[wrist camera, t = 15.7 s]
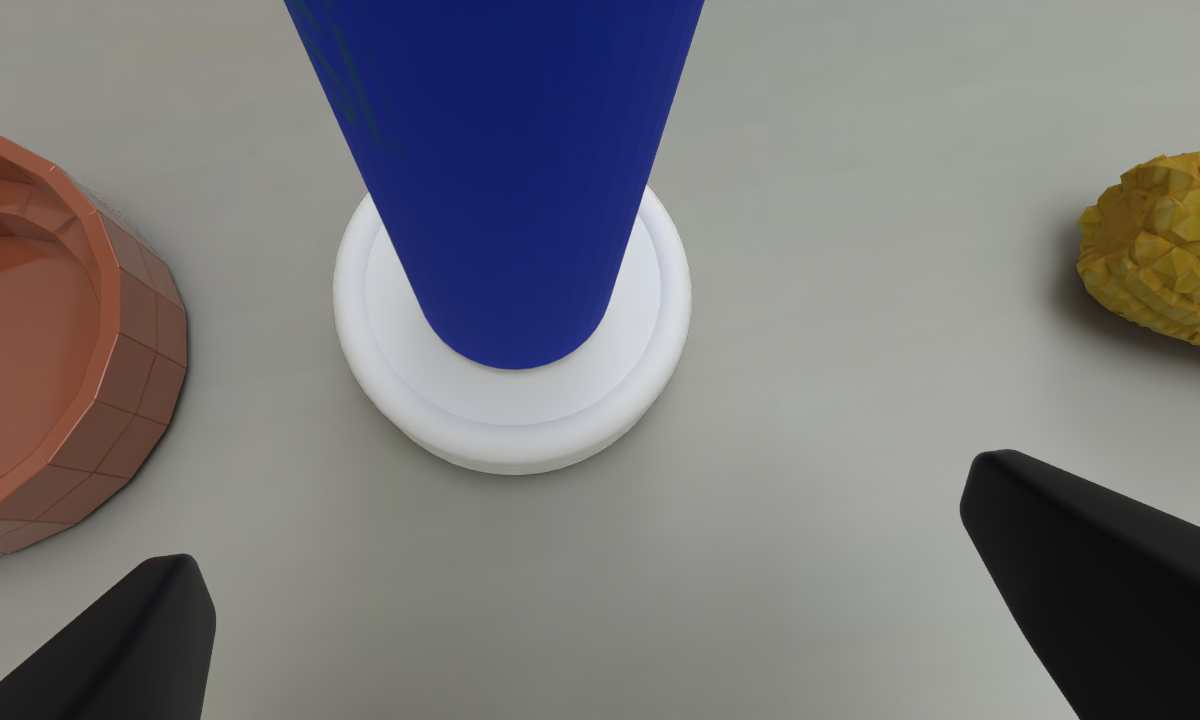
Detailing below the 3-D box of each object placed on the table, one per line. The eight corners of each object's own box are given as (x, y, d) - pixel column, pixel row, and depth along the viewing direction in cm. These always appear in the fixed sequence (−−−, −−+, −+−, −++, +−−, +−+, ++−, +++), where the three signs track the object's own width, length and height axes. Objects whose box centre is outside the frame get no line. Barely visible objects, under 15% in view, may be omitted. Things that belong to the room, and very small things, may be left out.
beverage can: (474, 167, 20) (340, -752, 6) (639, 245, 20) (908, -508, 6) (383, 323, 19) (-73, -388, 5) (560, 408, 19) (656, -55, 5)
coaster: (302, 259, 23) (263, 209, 20) (574, 132, 25) (581, 66, 22) (450, 539, 21) (435, 537, 18) (730, 377, 23) (764, 347, 20)
